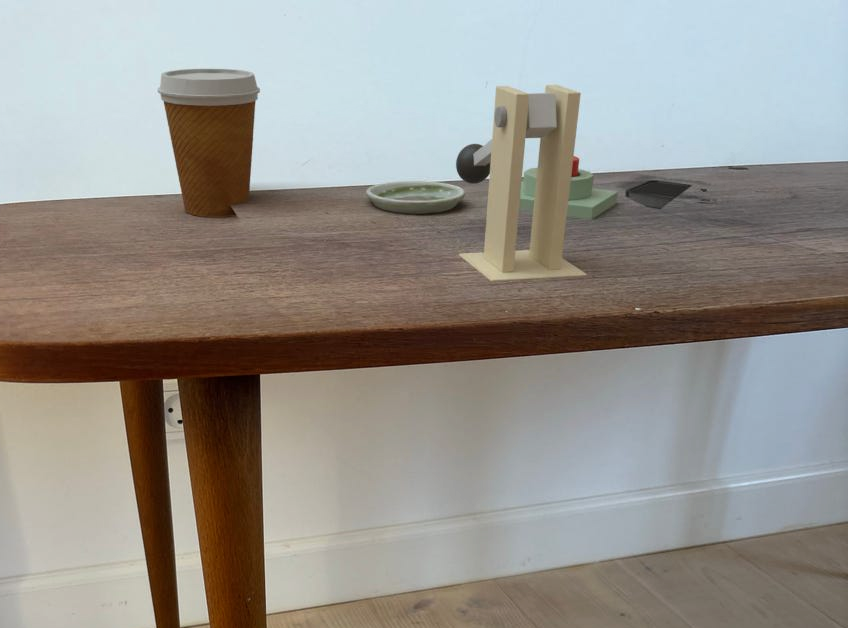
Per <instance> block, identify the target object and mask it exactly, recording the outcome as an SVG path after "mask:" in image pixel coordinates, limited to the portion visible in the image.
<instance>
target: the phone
mask: <svg viewBox="0 0 848 628" xmlns="http://www.w3.org/2000/svg"><path fill="white" fill-rule="evenodd" d="M691 187H693V184H689V183H681V182H675V181H668V180H667V181H666V180H658V179H650V180H646V181H644V182H640V183H639V184H636V185H633V186H631V187H628V188H626V189H625V195H624V197H625V198H628V199H630V200H631V201H634V202H636V203H638V204H640V205H642V206H644V207H649V208H656V209H663V208H664V207H666V206H667V205H668V204H669V203H671V202H672V201H674V200H675V199H676V198H678V197H679V196H681V195H682V194H683V193H684V192H686V191H687V190H688V189H690V188H691Z"/></svg>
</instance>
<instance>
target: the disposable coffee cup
mask: <svg viewBox="0 0 848 628" xmlns="http://www.w3.org/2000/svg"><path fill="white" fill-rule="evenodd" d="M159 86H160V87H158V88H157V93H158V94H160V100H161V101H163V105H164V110H165V116H166V120H167V126H168V131H169V136H170V141H171V147H172V149H173V150H172V151H173V155H174V157H173V158H174V162H175V167H176V172H177V176H178V182H179V187H180V191H181V196H182V197H181V198H182V202H183V208H184V211H185V212H186V213H188V214H190V215H192V216H197V217H206V218H225V217H232V216H237V213H236V212H235V210H234V208H233V207H232V206H234V205H239V204H243V203H246V202H247V201H249V200H250V190H251V189H250V188H251V174H252V158H253V145H254V130H255V128H254V127H255V114H256V113H255V112H256V101H257V100H258V99H259V97H258V96H259V93H260V92H261V88H260V87H258V84H257V81H256V76H255V73H253V72H251V71H249V70H242V69H230V68H185V69H183V68H182V69H173V70H167V71H164V72H162V73H161V75H160V85H159Z"/></svg>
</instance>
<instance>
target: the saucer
mask: <svg viewBox="0 0 848 628" xmlns="http://www.w3.org/2000/svg"><path fill="white" fill-rule="evenodd" d="M365 196H366V198H368V199H369V200H370V201H371V202H372V204H373V205H374V206H375V207H376V208H378V209H379V210H383V211H387V212H393V213H398V214H399V213H400V214H412V215H413V214H414V215H421V214H422V215H423V214H425V215H426V214H437V213H442V212H448V211H450V210H452V209H453V208H455V207H456V206H457V205H458V204H459V203H460V201H462V200H463V199H464V198H465V197H466V191H465V189H463V188H462V187H460V186H457V185H454V184H451V183H446V182H439V181H427V180H402V181H401V180H400V181H390V182H384V183H378V184H375V185H372V186H369V187H368V188H367V189H366V190H365ZM400 198H401V199H400ZM402 198H422V199H426V200H405V199H404V200H403V199H402ZM427 199H430V200H427Z"/></svg>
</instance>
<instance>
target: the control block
mask: <svg viewBox="0 0 848 628" xmlns="http://www.w3.org/2000/svg"><path fill="white" fill-rule="evenodd" d="M537 169H538V167H531V168H529V169H526V170H525V171H524V170H523V179H522V182H521V193H520V204H519V211H521V212H522V211H523V212H529V213H533V210H534V200H535V190H536V179H537ZM594 178H595V176H594V174H593V173H592V172H590V171H589V170H584V169H581V168H578V175H577V177H571V183H570V191H569V200H568V209H567V217H570V218H579V219H587V220H594V219H595V218H597V217H598V216H599V215H601V214H602V213H604V212H606V211H607V210H609V209H611V208H612V207H613V206H615V205H617V204H618V203H617V201H618V196H619V192H618V191H617V190H611V189H609V190H608V189H602V188H601V189H600V188H594V187H593V185H594V184H593V183H594Z"/></svg>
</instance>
